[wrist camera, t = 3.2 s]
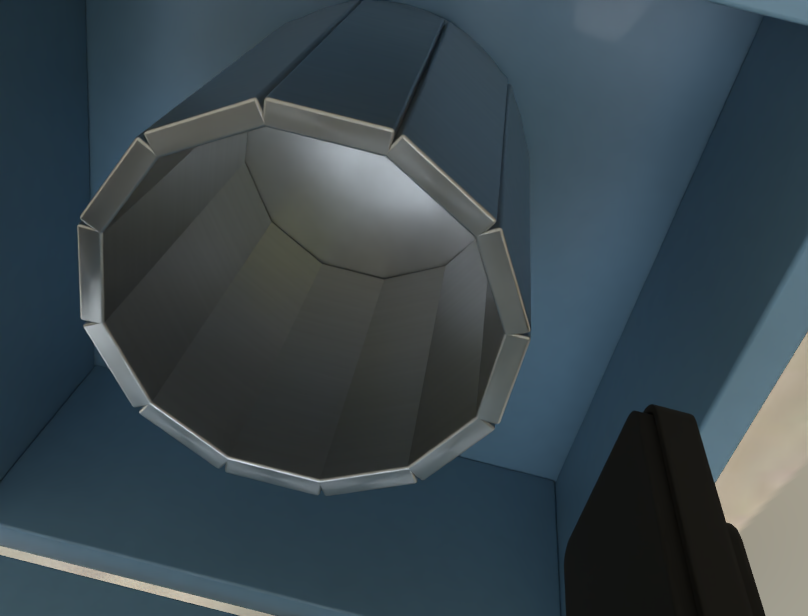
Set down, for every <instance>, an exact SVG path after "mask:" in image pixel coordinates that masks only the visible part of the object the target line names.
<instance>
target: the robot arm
mask: <svg viewBox="0 0 808 616" xmlns="http://www.w3.org/2000/svg"><path fill="white" fill-rule="evenodd" d="M564 584H565V605H566V616H765V613H764V610H763V606H762V603H761V600H760V597H759V593H758V590H757V587H756V583H755V580H754V577H753V574H752V570H751V567H750V564H749V561H748V558H747V554H746V551H745V548H744V545H743V542H742V539H741V536H740V534H739V532H738V530H737V529H736V528H735V527H734V526H733V525H732V524H730V523H726V521H725V517H724V514H723V510H722V507H721V504H720V500H719V497H718V493H717V490H716V486H715V483H714V480H713V476H712V473H711V469H710V466H709V463H708V459H707V456H706V452H705V449H704V446H703V442H702V439H701V435H700V432H699V429H698V425H697V422H696V419H695V417H694V416H693V415H692V414H689V413H685V412H681V411H678V410H674V409H670V408H666V407H662V406H658V405H654V404H651V405H648V406H647V407H646V408H645V410H644V411H643V412H639V411H635V410H634V411H632V412H631V413H630V414H629V416H628V418H627V419H626V422H625V424H624V426H623V428H622V430H621V432H620V434H619V436H618V438H617V440H616V442H615V444H614V447H613V449H612V451H611V453H610V455H609V457H608V459H607V461H606V463H605V465H604V467H603V469H602V472H601V474H600V476H599V478H598V480H597V482H596V484H595V486H594V488H593V490H592V492H591V494H590V497H589V499H588V501H587V503H586V505H585V507H584V509H583V511H582V513H581V515H580V517H579V519H578V522H577V524H576V526H575V528H574V530H573V532H572V534H571V536H570V538H569V541H568V543H567V547H566V551H565V556H564Z"/></svg>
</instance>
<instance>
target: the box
mask: <svg viewBox="0 0 808 616" xmlns="http://www.w3.org/2000/svg"><path fill="white" fill-rule="evenodd" d="M350 1H353V0H0V546H3V547H7V548H11V549H15V550H19V551H23V552H27V553H31V554H35V555H39V556H43V557H47V558H51V559H54V560H58V561H62V562H66V563H70V564H74V565H78V566H82V567H86V568H90V569H94V570H98V571H102V572H106V573H110V574H114V575H118V576H121V577H125V578H129V579H133V580H137V581H141V582H145V583H149V584H153V585H157V586H161V587H165V588H169V589H173V590H177V591H181V592H185V593H188V594H192V595H196V596H200V597H204V598H208V599H212V600H216V601H220V602H224V603H228V604H232V605H236V606H240V607H244V608H248V609H251V610H255V611H259V612H263V613H267V614H271V615H275V616H566V605H565V584H564V556H565V551H566V547H567V543H568V541H569V538H570V536H571V534H572V532H573V530H574V528H575V526H576V524H577V522H578V519H579V517H580V515H581V513H582V511H583V509H584V507H585V505H586V503H587V501H588V499H589V497H590V494H591V492H592V490H593V488H594V486H595V484H596V482H597V480H598V478H599V476H600V474H601V472H602V469H603V467H604V465H605V463H606V461H607V459H608V457H609V455H610V453H611V451H612V449H613V447H614V444H615V442H616V440H617V438H618V436H619V434H620V432H621V430H622V428H623V426H624V424H625V422H626V419H627V418H628V416H629V414H630V413H631V412H632V411H634V410H635V411H639V412H643V411H644V410H645V408H646V407H647V406H648V405H651V404H654V405H658V406H662V407H666V408H670V409H674V410H678V411H681V412H685V413H689V414H692V415H693V416H694V417H695V419H696V422H697V425H698V429H699V432H700V435H701V439H702V442H703V446H704V449H705V452H706V456H707V459H708V463H709V466H710V469H711V473H712V476H713V480H714V483H715V482H716V481H717V479H718V477H719V476H720V474H721V472H722V471H723V469H724V467H725V466H726V464H727V463H728V461H729V459H730V458H731V456H732V454H733V453H734V451H735V449H736V448H737V446H738V445H739V443H740V441H741V440H742V438H743V436H744V435H745V433H746V431H747V430H748V428H749V427H750V425H751V423H752V422H753V420H754V418H755V417H756V415H757V413H758V412H759V410H760V409H761V407H762V405H763V404H764V402H765V400H766V399H767V397H768V395H769V394H770V392H771V391H772V389H773V387H774V386H775V384H776V382H777V381H778V379H779V377H780V376H781V374H782V373H783V371H784V369H785V368H786V366H787V364H788V363H789V361H790V359H791V358H792V356H793V355H794V353H795V351H796V350H797V348H798V346H799V345H800V343H801V341H802V340H803V338H804V337H805V335H806V333H807V332H808V0H373V1H389V2H394V3H400V4H406V5H410V6H413V7H416V8H419V9H422V10H425V11H428V12H430V13H432V14H434V15H436V16H438V17H441V18H444V19H445V20H447V21H448V22H451V23H452V24H453V25H454V26H456V27H457V28H459V29H460V30H462V31H463V32H465V33H466V34H467V35H468V36H469V37H471V38H472V39H473V40H474V41H475V42H476V43H477V44H479V45H480V46H481V47H482V48H483V50H484V51H485V52H486V53H487V54H488V55H489V56H490V58H491V59H492V60H493V61H494V62H495V64H496V65H497V67H498V68H499V70H500V71H501V72H502V73H503V74H504V75H505V76H506V77H507V79H508V82H507V83H508V84H510V85H511V86H512V90H513V94H514V97H515V100H516V103H517V106H518V109H519V112H520V115H521V120H522V126H523V131H524V137H525V141H526V145H527V149H528V153H529V171H530V270H531V340H530V343H529V345H528V348H527V351H526V354H525V356H524V359H523V362H522V364H521V367H520V370H519V373H518V375H517V378H516V381H515V384H514V386H513V389H512V392H511V394H510V397H509V400H508V403H507V405H506V408H505V411H504V413H503V416H502V419H501V422H500V423H499V424H495V429H494V431H492V432H491V433H489V434H488V435H487V436H485V437H484V438H482V439H481V440H480V441H478V442H477V443H475V444H474V445H473V446H471V447H470V448H468V449H467V450H466V451H464V452H463V453H461V454H460V455H459V456H457V457H456V458H454V459H453V460H452V461H450V462H449V463H447V464H446V465H445V466H443V467H442V468H440V469H439V470H438V471H436V472H435V473H433V474H432V475H431V476H429V477H428V478H426V479H425V480H421V479H420V478H418V480H417V483H415V484H408V485H401V486H394V487H387V488H380V489H373V490H366V491H359V492H352V493H345V494H338V495H331V496H325V495H324V493H323V491H322V489H321V492H320V494H319V495H313V494H309V493H305V492H301V491H297V490H293V489H290V488H286V487H282V486H278V485H274V484H270V483H266V482H262V481H258V480H254V479H250V478H246V477H242V476H238V475H234V474H230V473H227V472H225V465H226V464H224V465H223V466H222V467H221V468H219V469H218V468H216V467H215V466H213V465H212V464H210V463H209V462H208V461H206V460H205V459H203V458H202V457H200V456H199V455H198V454H196V453H195V452H193V451H192V450H190V449H189V448H188V447H186V446H185V445H183V444H182V443H181V442H179V441H178V440H176V439H175V438H173V437H172V436H171V435H169V434H168V433H166V432H165V431H163V430H162V429H161V428H159V427H158V426H156V425H155V424H153V423H152V422H151V421H149V420H148V419H146V418H145V417H143V416H142V415H141V414H140V413H139V410H140V409H141V407H142V406H141V407H136V408H135V407H133V406H132V405H131V403H130V401H129V400H128V398H127V397H126V395H125V393H124V392H123V390H122V389H121V387H120V385H119V384H118V382H117V380H116V379H115V377H114V376H113V374H112V372H111V371H110V369H109V368H108V366H107V364H106V363H105V361H104V359H103V358H102V356H101V355H100V353H99V351H98V350H97V348H96V346H95V345H94V343H93V342H92V340H91V338H90V337H89V335H88V334H87V332H86V330H85V329H84V326H83V325H84V324H85V322H86V321H85V320H82V319H81V318H80V291H79V262H78V233H77V226H78V224H79V223H80V222H81V221H82V220H81V219H80V215H81V214H82V212H83V211H84V210H85V208H86V207H87V205H88V204H89V203H90V201H91V200H92V198H93V197H94V196H95V194H96V193H97V191H98V190H99V189H100V187H101V186H102V184H103V183H104V182H105V180H106V179H107V177H108V176H109V175H110V173H111V172H112V170H113V169H114V167H115V166H116V165H117V163H118V162H119V160H120V159H121V158H122V156H123V155H124V153H125V152H126V151H127V149H128V148H129V146H130V145H131V144H132V142H133V141H134V139H135V138H136V137H137V136H138V135H140V134H141V133H142V132H144V131H145V130H146V129H148V128H149V127H150V126H152V125H153V124H154V123H155V122H157V121H158V120H159V119H161V118H162V117H163V116H165V115H166V114H167V113H169V112H170V111H171V110H173V109H174V108H175V107H176V106H178V105H179V104H180V103H182V102H183V101H184V100H186V99H187V98H188V97H190V96H191V95H192V94H193V93H195V92H196V91H197V90H199V89H200V88H201V87H203V86H204V85H205V84H207V83H208V82H209V81H210V80H212V79H213V78H214V77H216V76H217V75H218V74H220V73H221V72H222V71H224V70H225V69H226V68H228V67H229V66H230V65H231V64H233V63H234V62H235V61H237V60H238V59H239V58H241V57H242V56H243V55H245V54H246V53H247V52H248V51H250V50H251V49H252V48H254V47H255V46H256V45H258V44H259V43H260V42H262V41H263V40H264V39H266V38H267V37H268V36H269V35H271V34H272V33H273V32H275V31H276V30H277V29H279V28H280V27H282V26H283V25H284V24H286V23H288V22H291V21H294V20H297V19H300V18H303V17H305V16H307V15H309V14H312V13H314V12H316V11H319V10H321V9H323V8H326V7H330V6H334V5H338V4H342V3H346V2H350ZM360 1H363V0H360Z"/></svg>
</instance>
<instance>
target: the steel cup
mask: <svg viewBox="0 0 808 616" xmlns="http://www.w3.org/2000/svg"><path fill="white" fill-rule="evenodd" d="M507 82H508V79H507V77H506V76H505V75H504V74H503V73H502V72H501V71H500V70H499V68H498V67H497V65H496V64H495V62H494V61H493V60H492V59H491V58H490V56H489V55H488V54H487V53H486V52H485V51H484V50H483V48H482V47H481V46H480V45H479V44H477V43H476V42H475V41H474V40H473V39H472V38H471V37H469V36H468V35H467V34H466V33H465V32H463V31H462V30H460V29H459V28H457V27H456V26H454V25H453V24H452V23H451V22H448V21H447V20H445V19H444V18H441V17H438V16H436V15H434V14H432V13H430V12H428V11H425V10H422V9H419V8H416V7H413V6H410V5H406V4H400V3H394V2H389V1H373V0H363V1H360V0H353V1H350V2H346V3H342V4H338V5H334V6H330V7H326V8H323V9H321V10H319V11H316V12H314V13H312V14H309V15H307V16H305V17H303V18H300V19H297V20H294V21H291V22H288V23H286V24H284V25H283V26H282V27H280V28H279V29H277V30H276V31H275V32H273V33H272V34H271V35H269V36H268V37H267V38H266V39H264V40H263V41H262V42H260V43H259V44H258V45H256V46H255V47H254V48H252V49H251V50H250V51H248V52H247V53H246V54H245V55H243V56H242V57H241V58H239V59H238V60H237V61H235V62H234V63H233V64H231V65H230V66H229V67H228V68H226V69H225V70H224V71H222V72H221V73H220V74H218V75H217V76H216V77H214V78H213V79H212V80H210V81H209V82H208V83H207V84H205V85H204V86H203V87H201V88H200V89H199V90H197V91H196V92H195V93H193V94H192V95H191V96H190V97H188V98H187V99H186V100H184V101H183V102H182V103H180V104H179V105H178V106H176V107H175V108H174V109H173V110H171V111H170V112H169V113H167V114H166V115H165V116H163V117H162V118H161V119H159V120H158V121H157V122H155V123H154V124H153V125H152V126H150V127H149V128H148V129H146V130H145V131H144V132H142V133H141V134H140V135H138V136H137V137H136V138H135V139H134V141H133V142H132V144H131V145H130V146H129V148H128V149H127V151H126V152H125V153H124V155H123V156H122V158H121V159H120V160H119V162H118V163H117V165H116V166H115V167H114V169H113V170H112V172H111V173H110V175H109V176H108V177H107V179H106V180H105V182H104V183H103V184H102V186H101V187H100V189H99V190H98V191H97V193H96V194H95V196H94V197H93V198H92V200H91V201H90V203H89V204H88V205H87V207H86V208H85V210H84V211H83V212H82V214H81V215H80V219H81V220H82V221H81V222H80V223H79V224H78V226H77V233H78V262H79V291H80V318H81V319H82V320H85V321H86V322H85V324H84V325H83V326H84V329H85V330H86V332H87V334H88V335H89V337H90V338H91V340H92V342H93V343H94V345H95V346H96V348H97V350H98V351H99V353H100V355H101V356H102V358H103V359H104V361H105V363H106V364H107V366H108V368H109V369H110V371H111V372H112V374H113V376H114V377H115V379H116V380H117V382H118V384H119V385H120V387H121V389H122V390H123V392H124V393H125V395H126V397H127V398H128V400H129V401H130V403H131V405H132V406H133V407H135V408H136V407H141V406H142V407H141V409H140V410H139V413H140V414H141V415H142V416H143V417H145V418H146V419H148V420H149V421H151V422H152V423H153V424H155V425H156V426H158V427H159V428H161V429H162V430H163V431H165V432H166V433H168V434H169V435H171V436H172V437H173V438H175V439H176V440H178V441H179V442H181V443H182V444H183V445H185V446H186V447H188V448H189V449H190V450H192V451H193V452H195V453H196V454H198V455H199V456H200V457H202V458H203V459H205V460H206V461H208V462H209V463H210V464H212V465H213V466H215V467H216V468H218V469H219V468H221V467H222V466H223V465H224V464H226V465H225V472H227V473H230V474H234V475H238V476H242V477H246V478H250V479H254V480H258V481H262V482H266V483H270V484H274V485H278V486H282V487H286V488H290V489H293V490H297V491H301V492H305V493H309V494H313V495H319V494H320V492H321V489H322V491H323V493H324V495H325V496H331V495H338V494H345V493H352V492H359V491H366V490H373V489H380V488H387V487H394V486H401V485H408V484H415V483H417V480H418V478H420V479H421V480H425V479H426V478H428V477H429V476H431V475H432V474H433V473H435V472H436V471H438V470H439V469H440V468H442V467H443V466H445V465H446V464H447V463H449V462H450V461H452V460H453V459H454V458H456V457H457V456H459V455H460V454H461V453H463V452H464V451H466V450H467V449H468V448H470V447H471V446H473V445H474V444H475V443H477V442H478V441H480V440H481V439H482V438H484V437H485V436H487V435H488V434H489V433H491V432H492V431H494V429H495V424H499V423H500V422H501V419H502V416H503V413H504V411H505V408H506V405H507V403H508V400H509V397H510V394H511V392H512V389H513V386H514V384H515V381H516V378H517V375H518V373H519V370H520V367H521V364H522V362H523V359H524V356H525V354H526V351H527V348H528V345H529V343H530V340H531V270H530V171H529V153H528V149H527V145H526V141H525V137H524V131H523V126H522V120H521V115H520V112H519V109H518V106H517V103H516V100H515V97H514V94H513V90H512V86H511V85H510V84H508V83H507Z"/></svg>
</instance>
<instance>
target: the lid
mask: <svg viewBox="0 0 808 616" xmlns="http://www.w3.org/2000/svg"><path fill="white" fill-rule="evenodd" d="M0 616H238V615H234V614H231V613H227V612H223V611H219V610H215V609H211V608H207V607H203V606H199V605H195V604H191V603H187V602H183V601H179V600H175V599H171V598H167V597H164V596H160V595H156V594H152V593H148V592H144V591H140V590H136V589H132V588H128V587H124V586H120V585H116V584H112V583H108V582H104V581H101V580H97V579H93V578H89V577H85V576H81V575H77V574H73V573H69V572H65V571H61V570H57V569H53V568H49V567H45V566H41V565H38V564H34V563H30V562H26V561H22V560H18V559H14V558H10V557H6V556H2V555H0Z"/></svg>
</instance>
